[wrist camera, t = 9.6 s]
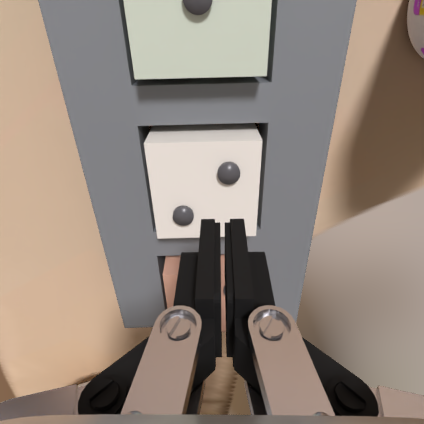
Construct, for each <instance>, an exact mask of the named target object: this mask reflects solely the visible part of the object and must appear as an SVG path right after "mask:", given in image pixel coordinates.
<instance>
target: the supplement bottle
mask: <svg viewBox="0 0 424 424" xmlns="http://www.w3.org/2000/svg"><path fill="white" fill-rule="evenodd" d="M407 28H408V34H409V37H410V40H411V43H412V45H413V47H414V49H415V50H416V51H417V53H418V54H419V55H420V56H421V57H422V58H423V59H424V0H409V4H408V11H407Z"/></svg>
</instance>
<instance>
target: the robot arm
mask: <svg viewBox="0 0 424 424" xmlns="http://www.w3.org/2000/svg"><path fill="white" fill-rule="evenodd" d="M225 313H226V350H227V357H233V367H234V370H235V371H236V372H237V373H238V374H239V375H241V376H242V377H243V378H244V383H245V389H246V393H247V398H248V402H249V407H250V412H251V415H200V409H201V404H202V398H203V393H204V387H205V379H206V378H207V377H208V376H209V375H210V374H211V373H212V372H213V371H214V370H215V367H216V357H222V334H221V240H220V222H217V223H215V219H201V226H200V239H199V252H182V253H181V257H180V263H179V270H178V277H177V283H176V290H175V297H174V303H173V307H170V308H168V309H166V310H164V311H163V312H162V313H161V314H160V315H159V316H158V318H157V319H156V321H155V323H154V326H153V329H152V331H151V334H150V336H149V337H148V338H147V339H145V340H144V341H143V342H141V343H140V344H139V345H137V346H136V347H135V348H133V349H132V350H131V351H129V352H128V353H127V354H125V355H124V356H123V357H121V358H120V359H119V360H117V361H116V362H115V363H113V364H112V365H111V366H109V367H108V368H107V369H105V370H104V371H103V372H101V373H100V374H99V375H97V376H96V377H95V378H93V379H92V380H91V381H90V382H89V383H88V384H87V385H85V386H81V387H78V386H77V384H75V385H70V386H66V387H61V388H57V389H53V390H48V391H44V392H40V393H35V394H31V395H26V396H22V397H18V398H13V399H9V400H7V401H4V402H2V403H0V424H424V396H423V395H418V394H414V393H409V392H405V391H401V390H397V389H392V388H388V387H384V386H378V387H377V388H372V387H369V386H367V384H365V383H364V382H363V381H362V380H361V379H360V378H358V377H357V376H355V375H354V374H353V373H351V372H350V371H348V370H347V369H346V368H344V367H343V366H342V365H340V364H339V363H337V362H336V361H334V360H333V359H332V358H330V357H329V356H328V355H326V354H325V353H323V352H322V351H321V350H319V349H318V348H316V347H315V346H314V345H312V344H311V343H310V342H308V341H307V340H305V339H304V338H303V337H301V334H300V332H299V329H298V327H297V325H296V322H295V320H294V319H293V317H292V316H291V315H290V314H289V313H288V312H287V311H286V310H284V309H282V308H280V307H277V306H275V301H274V296H273V291H272V286H271V280H270V275H269V270H268V265H267V260H266V255H265V252H248V246H247V239H246V231H245V223H244V219H230V222H225Z"/></svg>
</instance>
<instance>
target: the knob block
mask: <svg viewBox="0 0 424 424" xmlns="http://www.w3.org/2000/svg"><path fill="white" fill-rule="evenodd" d="M123 1H124V8H125V15H126V22H127V29H128V36H129V43H130V50H131V57H132V64H133V71H134V78H135V79H173V78H213V77H252V76H267V65H268V50H269V36H270V21H271V6H272V0H123Z"/></svg>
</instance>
